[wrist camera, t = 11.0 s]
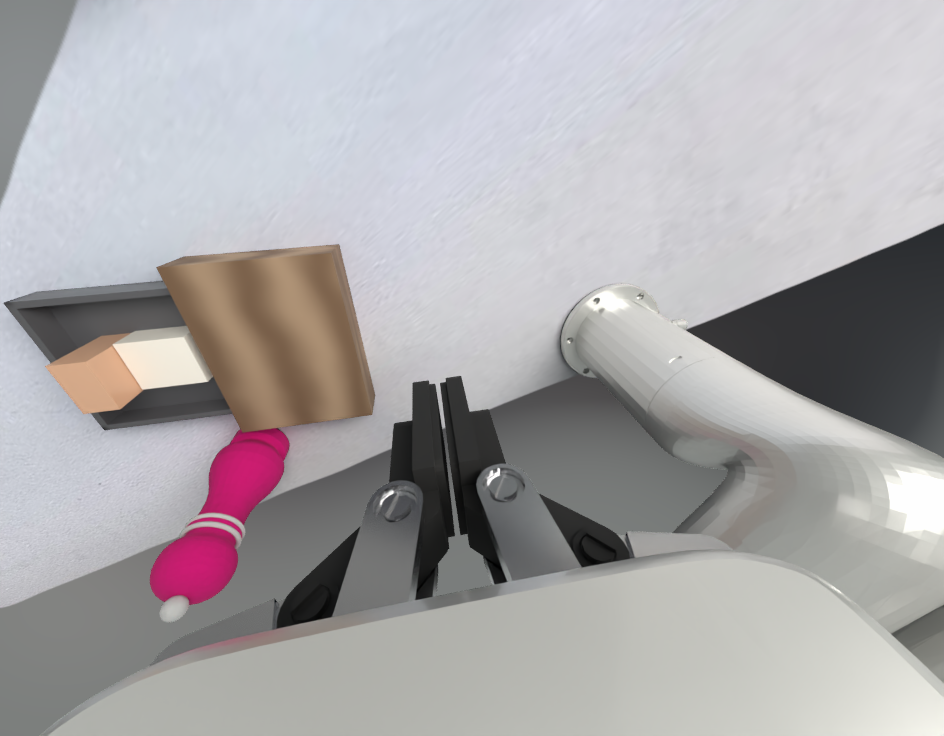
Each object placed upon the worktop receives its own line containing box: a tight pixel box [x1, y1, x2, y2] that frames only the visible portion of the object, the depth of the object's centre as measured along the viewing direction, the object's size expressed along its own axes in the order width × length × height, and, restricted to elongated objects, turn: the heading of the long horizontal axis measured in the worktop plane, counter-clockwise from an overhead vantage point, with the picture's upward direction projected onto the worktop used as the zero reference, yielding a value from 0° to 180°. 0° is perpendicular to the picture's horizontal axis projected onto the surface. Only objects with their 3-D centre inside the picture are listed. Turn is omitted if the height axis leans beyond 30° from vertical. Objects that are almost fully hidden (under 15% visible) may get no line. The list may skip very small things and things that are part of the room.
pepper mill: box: [150, 428, 289, 622], centre depth 35 cm, size 7×7×20 cm
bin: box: [4, 281, 233, 430], centre depth 34 cm, size 13×14×3 cm
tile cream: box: [112, 326, 213, 390], centre depth 34 cm, size 6×5×3 cm
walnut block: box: [156, 244, 375, 432], centre depth 35 cm, size 14×18×4 cm
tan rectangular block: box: [45, 333, 143, 414], centre depth 32 cm, size 6×5×3 cm
